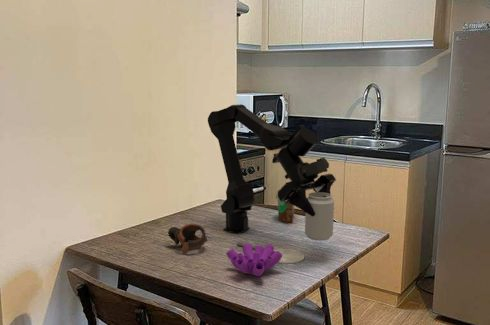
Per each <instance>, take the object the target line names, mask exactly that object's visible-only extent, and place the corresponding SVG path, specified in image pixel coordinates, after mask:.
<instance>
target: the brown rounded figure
mask: <svg viewBox="0 0 490 325" xmlns="http://www.w3.org/2000/svg"><path fill="white" fill-rule="evenodd" d="M197 231H200V232H201V234H202V236H201V237H200V236H198V235H196V233H197ZM167 234H168V237H169V238H170V239H171V240H172V241H173V242H174V244H175V246H178V245H179V244H180V245H181V246H182V248H181V250H180V251H181V253H183V254H185V255H186V254H188V253H189V252H192V251H196V250H198V249H200V248H202V246H204V245H205V244H206V243H207V242H208V237H207V236H206V230H205V228H204V227H203V226H201V225H199V224H196V223H187V224H184V225H183V226H181V227H180V228H179V227H177V226H172V227H170V228H169V229H168V232H167Z"/></svg>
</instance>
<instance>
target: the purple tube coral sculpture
mask: <svg viewBox="0 0 490 325" xmlns="http://www.w3.org/2000/svg"><path fill="white" fill-rule="evenodd" d="M251 245H252V244H251V243H244V245H243V247H242V252H239V253H238V252H237V251H236V250H235V249H234V248H233V247H232V248H231V249H229V250H228V251H227V252H225V254H226V256H227V258H228V260H230V263H231V264H232V266H233V267H234V268H235V269H236V270H238V271H240V272H242V273H245V274H250V275H251V274H252V275H254V276H257V277H260V276H261V275H262V274H264V272H265V271H267V270H269V269H271V268H273V267H275V266H276V265H277V264H279V263H278V262H279V261H280V259H281V258H282V254H281V253H280V252H278V251H276V252H275V251H274V250H275V247H274V246H275V245H274V246H273V245H272V244H269V243H267V244H265V246H264V247H263V245H257V244H256V245H255V246H256V247H255V250H254V249H252V246H253V245H252V246H251ZM263 248H264V250H263Z"/></svg>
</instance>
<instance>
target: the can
mask: <svg viewBox="0 0 490 325" xmlns="http://www.w3.org/2000/svg"><path fill="white" fill-rule="evenodd" d="M307 199H308V201H309V203H310V204H311V206H312V208H313V210H314V212H315V215H314V216H313V217H312V216H311V215H309V214H307V213H306V212H305V217H304V218H305V219H304V220H305V222H304V235H305V236H306V237H307V238H308V239H310V240H312V241H318V242H321V241H322V242H323V241H328V240H329V239H331V238H332V237H333V235H334V234H333V233H334V232H333V231H334V216H335V215H334V210H335V200H334V199H333V196H332V194H328V193H323V192H315V191H313V192H310V193H308V197H307Z"/></svg>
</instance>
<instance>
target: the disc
mask: <svg viewBox="0 0 490 325" xmlns="http://www.w3.org/2000/svg"><path fill="white" fill-rule="evenodd" d="M274 251H275V252H276V251H278V252H280V253H281V254H282V258H281V259H280V261H279V262H278V263H277V264H285V265H286V264H287V265H288V264H297V263H300V262H302V261H304V259H305V255H304V253H303V252H301V251H299V250H296V249H288V248H280V249H274Z"/></svg>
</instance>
